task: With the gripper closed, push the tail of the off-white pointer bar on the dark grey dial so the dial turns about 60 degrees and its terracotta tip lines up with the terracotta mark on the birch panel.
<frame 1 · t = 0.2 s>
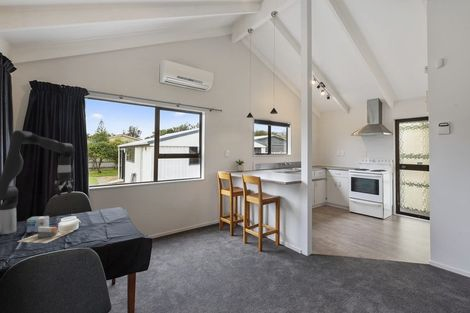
hand: (64, 194, 157), 29 cm above the table, fingers open, 8 cm apart
light bulb box: (38, 232, 162), on the table
panel: (47, 237, 152), on the table
dial: (47, 231, 152), point 5 cm above the table, hinge at 0.0°
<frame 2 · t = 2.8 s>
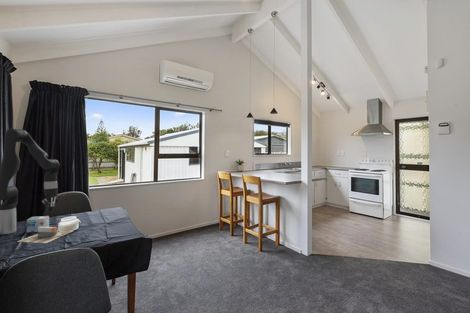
hand: (51, 211, 159), 16 cm above the table, fingers closed
nothing on the table moved.
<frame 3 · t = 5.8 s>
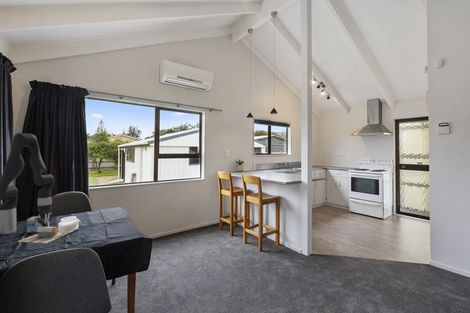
hand: (45, 228, 155), 6 cm above the table, fingers closed
dial: (47, 231, 152), point 5 cm above the table, hinge at 5.0°
everything else where it was.
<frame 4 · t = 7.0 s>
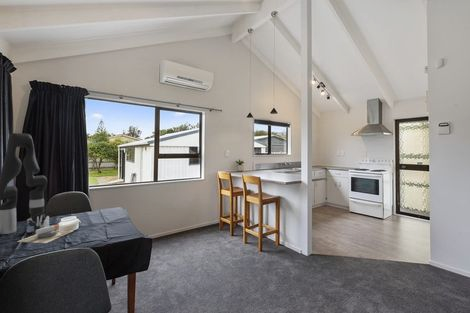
hand: (37, 231, 149), 6 cm above the table, fingers closed
dial: (47, 231, 152), point 5 cm above the table, hinge at 66.1°, touching gripper
everything else where it was.
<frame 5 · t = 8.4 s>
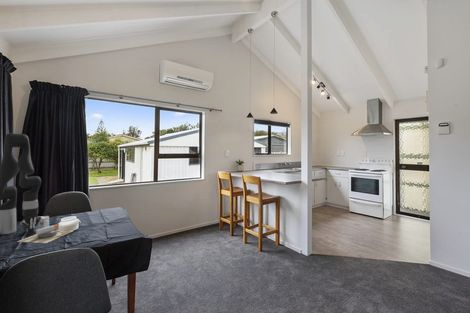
hand: (30, 233, 144), 6 cm above the table, fingers closed
dial: (47, 231, 152), point 5 cm above the table, hinge at 70.9°
everything else where it was.
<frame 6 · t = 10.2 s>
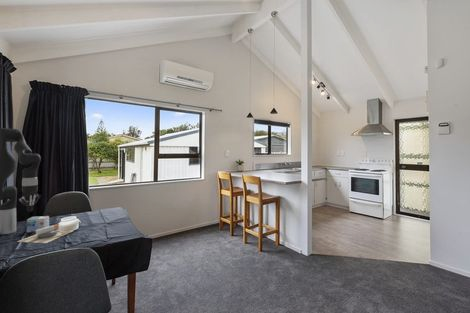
hand: (30, 211, 144), 20 cm above the table, fingers closed
nothing on the table moved.
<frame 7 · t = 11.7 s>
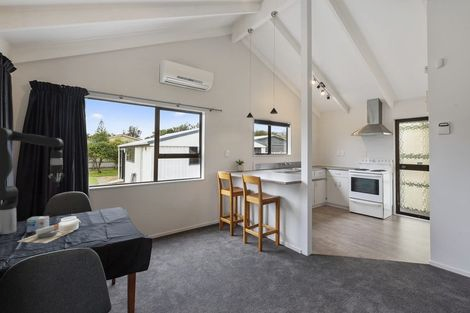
hand: (56, 186, 172), 32 cm above the table, fingers closed
nothing on the table moved.
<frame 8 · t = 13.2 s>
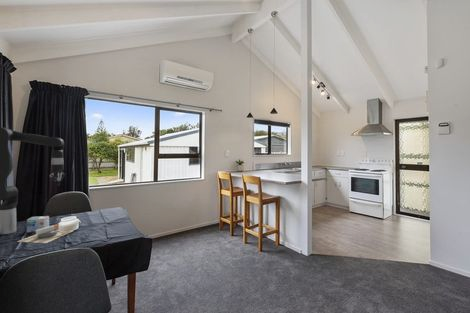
hand: (57, 185, 173), 32 cm above the table, fingers closed
nothing on the table moved.
at the end: dial at +71° (first picture: +0°) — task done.
